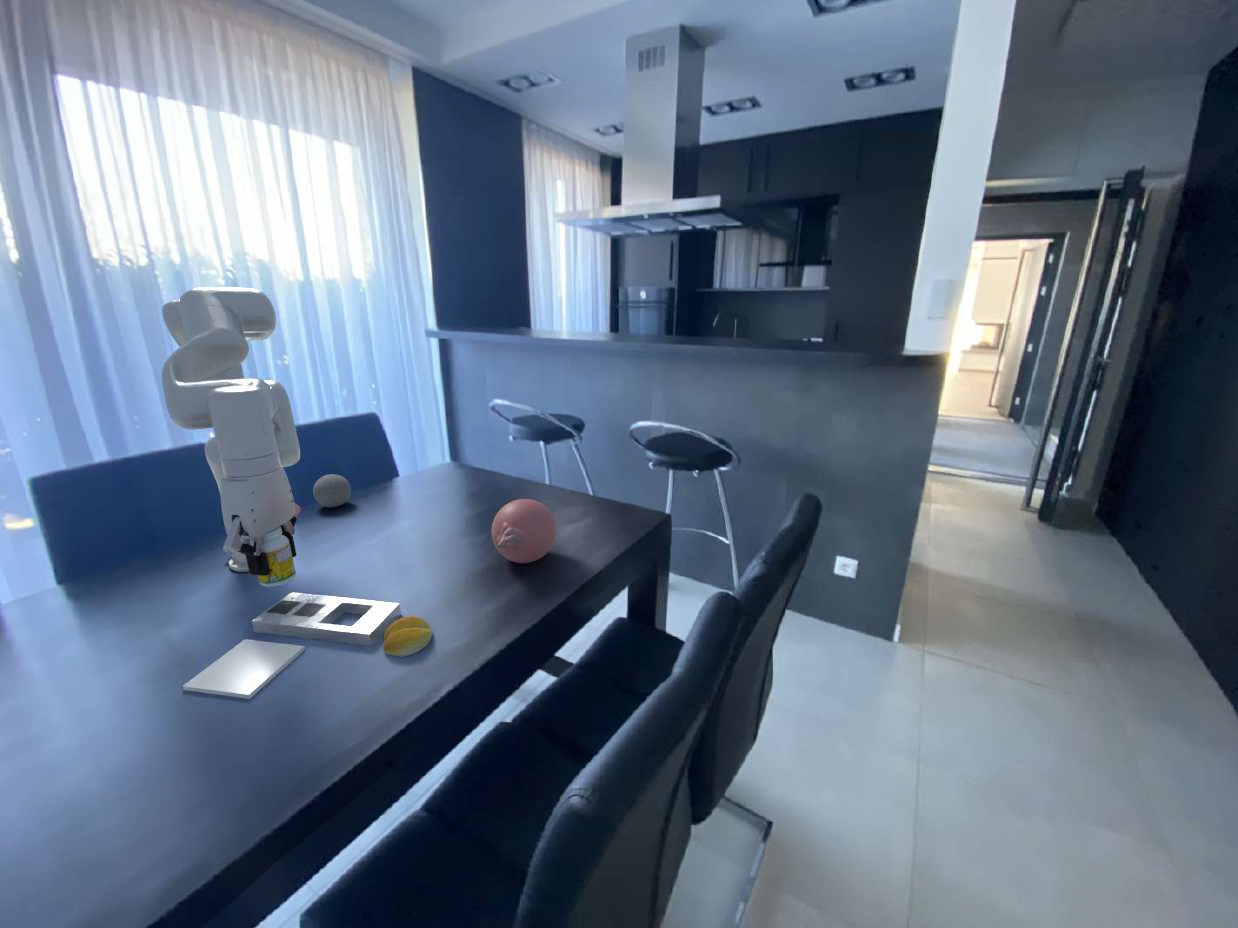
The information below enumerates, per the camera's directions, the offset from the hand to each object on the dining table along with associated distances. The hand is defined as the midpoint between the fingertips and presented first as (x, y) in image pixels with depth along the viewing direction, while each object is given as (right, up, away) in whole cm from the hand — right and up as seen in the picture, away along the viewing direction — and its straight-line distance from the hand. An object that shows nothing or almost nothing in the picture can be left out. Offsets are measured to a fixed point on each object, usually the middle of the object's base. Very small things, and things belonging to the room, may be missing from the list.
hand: (274, 564), depth 86 cm
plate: (-5, -18, 0) cm, 19 cm away
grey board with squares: (+2, -14, +13) cm, 19 cm away
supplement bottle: (0, -3, +1) cm, 3 cm away
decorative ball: (-28, +4, +68) cm, 73 cm away
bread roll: (+19, -16, +8) cm, 27 cm away
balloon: (+35, -7, +36) cm, 51 cm away
